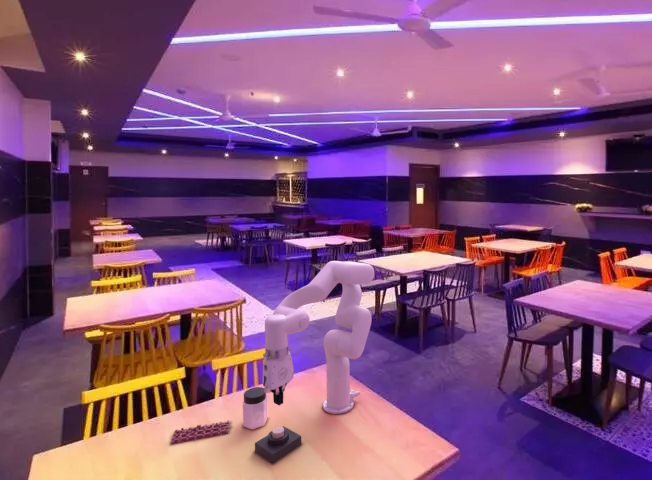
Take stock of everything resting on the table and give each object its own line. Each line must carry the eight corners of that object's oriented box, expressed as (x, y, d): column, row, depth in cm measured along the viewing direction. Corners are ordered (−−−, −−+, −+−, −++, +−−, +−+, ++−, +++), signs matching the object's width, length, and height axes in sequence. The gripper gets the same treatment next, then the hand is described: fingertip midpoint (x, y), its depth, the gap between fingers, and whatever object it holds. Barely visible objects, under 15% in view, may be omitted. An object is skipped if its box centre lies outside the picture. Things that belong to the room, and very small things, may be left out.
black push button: (283, 434, 146) (283, 421, 146) (301, 444, 140) (301, 430, 140) (254, 452, 137) (254, 437, 136) (273, 463, 131) (272, 449, 130)
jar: (245, 432, 148) (245, 400, 147) (240, 421, 154) (240, 391, 154) (270, 424, 152) (269, 393, 152) (264, 414, 159) (263, 384, 159)
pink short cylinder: (279, 430, 141) (279, 424, 141) (286, 434, 139) (286, 428, 139) (269, 436, 138) (269, 430, 138) (277, 440, 135) (277, 434, 135)
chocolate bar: (229, 434, 147) (229, 428, 147) (171, 445, 141) (171, 439, 141) (231, 423, 154) (230, 418, 154) (176, 433, 148) (175, 428, 148)
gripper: (265, 362, 129) (266, 417, 130) (301, 346, 141) (302, 397, 142) (251, 356, 133) (253, 409, 134) (287, 341, 145) (288, 390, 146)
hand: (278, 403), depth 138 cm, fingers closed
